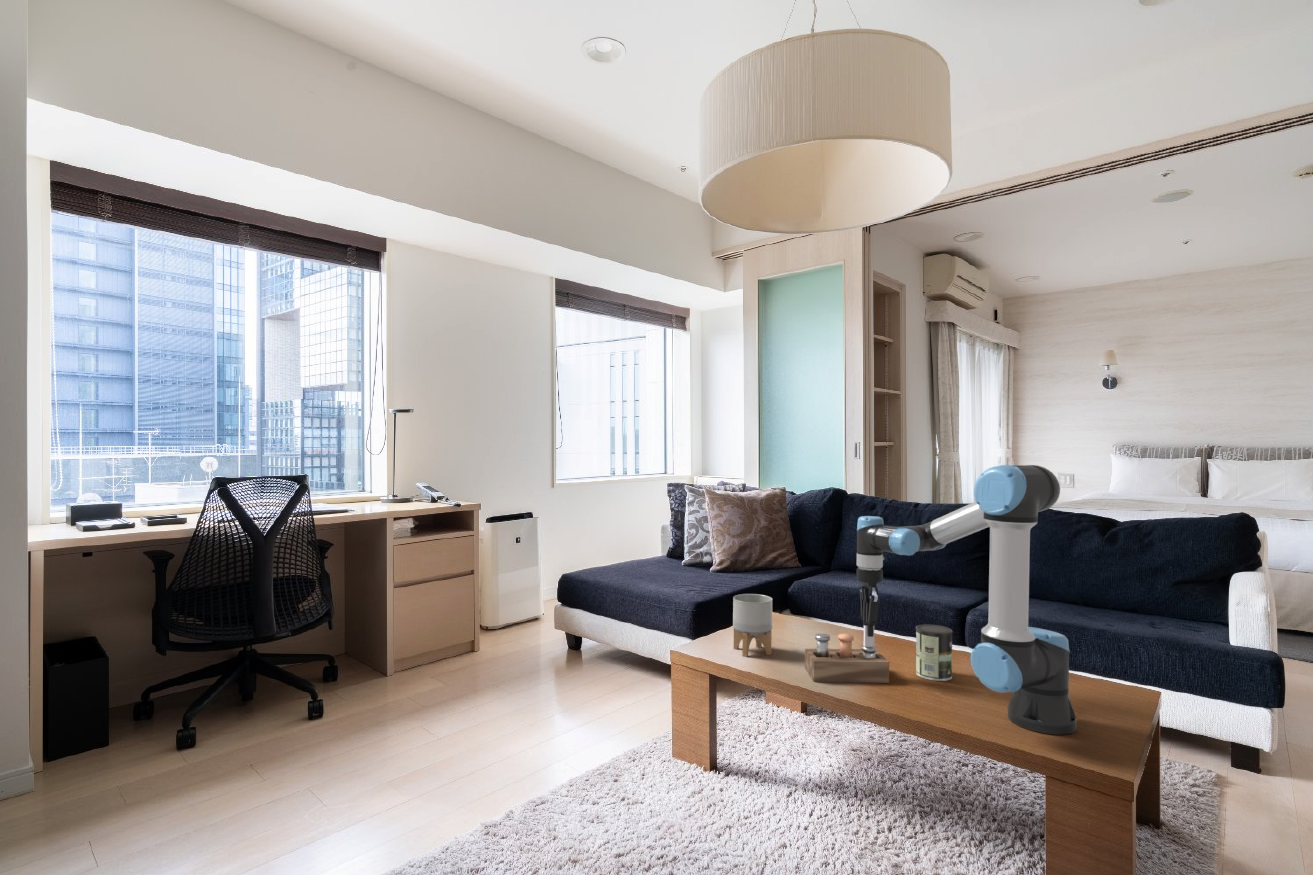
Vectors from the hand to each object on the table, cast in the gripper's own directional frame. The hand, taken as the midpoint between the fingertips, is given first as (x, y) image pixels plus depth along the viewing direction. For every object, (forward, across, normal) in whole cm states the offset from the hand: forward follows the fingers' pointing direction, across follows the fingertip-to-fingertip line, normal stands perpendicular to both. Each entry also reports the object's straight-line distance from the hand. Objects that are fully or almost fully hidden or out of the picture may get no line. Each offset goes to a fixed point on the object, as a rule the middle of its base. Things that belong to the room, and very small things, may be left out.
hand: (868, 646), depth 202 cm
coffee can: (+9, +1, -20) cm, 22 cm away
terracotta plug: (+4, 0, +7) cm, 8 cm away
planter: (+9, +22, +32) cm, 40 cm away
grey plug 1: (+4, 0, +14) cm, 15 cm away
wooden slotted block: (+9, 0, +7) cm, 11 cm away
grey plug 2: (+8, 0, 0) cm, 8 cm away
